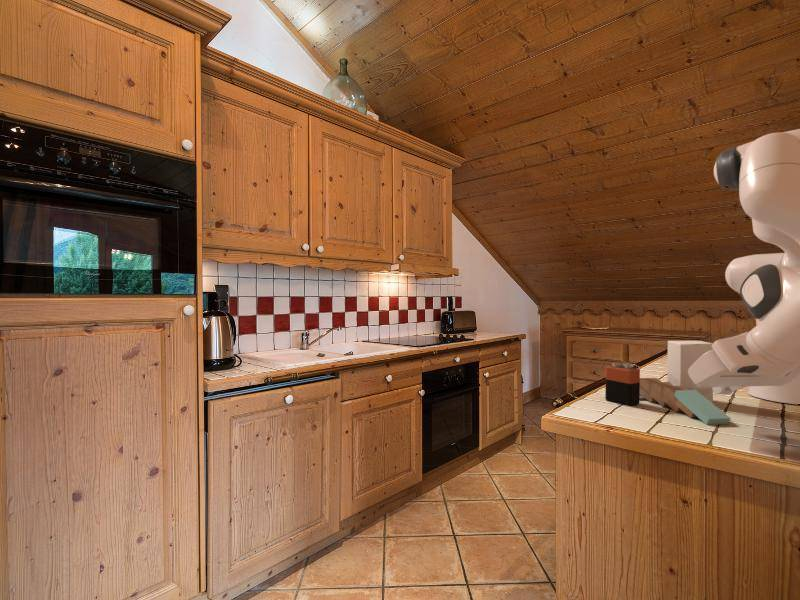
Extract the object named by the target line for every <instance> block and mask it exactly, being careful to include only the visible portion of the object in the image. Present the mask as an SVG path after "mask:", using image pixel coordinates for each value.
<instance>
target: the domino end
mask: <svg viewBox="0 0 800 600" xmlns="http://www.w3.org/2000/svg"><path fill="white" fill-rule="evenodd" d="M674 396H675V397H676V398H677V399H678V400H679V401H680V402H681V403H683V404H684V405H685V406H686V407H687V408H688V409H689V410H690V411H692V412H693V413H694V414H695V415H696V416H697V417H698V418H697V419H699V420H700V421H702V422H703V423H704V425H706V426H707V425H709V426H711V425H729V423H730V420H731V417H730V416H728V415H727V414H726V413H725V412H724V411H722V410H721V408H719V407H718V406H716V405H715V404H714V402H713V403H711V402H710V401H709V400H708V399H706V398H705V397H704V396H703V395H701V394H700V393H699V392H698V391H697V390H676V392H675V395H674Z"/></svg>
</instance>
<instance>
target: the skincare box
mask: <svg viewBox="0 0 800 600" xmlns="http://www.w3.org/2000/svg"><path fill="white" fill-rule="evenodd" d="M713 343H714V342H708V341H703V340H667V372H666V373H667V374H666V375H667V376H666V378H667V379H666V380H667V381H666V382H670V383H671V384H672V385H673V386H683V387H684V388H685V389H687V390H697V391H698V392H699V393H700V394H701V395H703V396H704V397H705V398H706V399H708V400H709V401H710V402H711V403H713V404H714V391H713V390H712V387H697V386H696V385H695V384H694V383H693V381H692V380H691V378H690V376H689V374H688V370H689V368H690V367H691V366H692V365H693V364H694V363H695V362H696V361H697V360H698V359H699V358H700V357H701V356H702V355H703V354H705V353H706V352H708V351H710V350H713V348H712V344H713Z"/></svg>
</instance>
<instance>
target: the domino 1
mask: <svg viewBox="0 0 800 600" xmlns="http://www.w3.org/2000/svg"><path fill="white" fill-rule="evenodd" d="M640 395H641V396H642V397H644V398H645V399H647V400H646V401H648V402H650V403H651V402H657V401H656V400H655V399H654V398H653V397H652V396H651V395H650V394H649V393H648V392H647V391H646V390H645V389H644V388H642V387H641V386H640Z"/></svg>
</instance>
